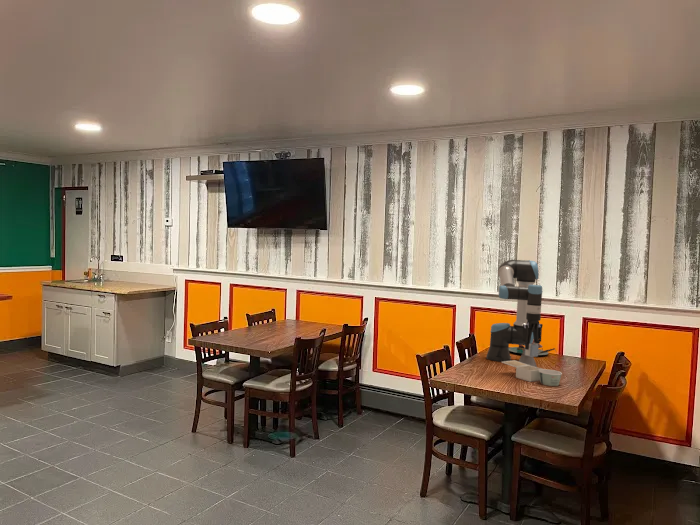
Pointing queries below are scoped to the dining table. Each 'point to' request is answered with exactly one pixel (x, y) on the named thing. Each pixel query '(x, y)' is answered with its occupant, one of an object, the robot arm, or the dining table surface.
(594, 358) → the dining table surface
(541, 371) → the food container
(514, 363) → the lid
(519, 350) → the sailing ship model
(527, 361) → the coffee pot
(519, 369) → the mailer base
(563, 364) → the dining table surface
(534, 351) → the block
